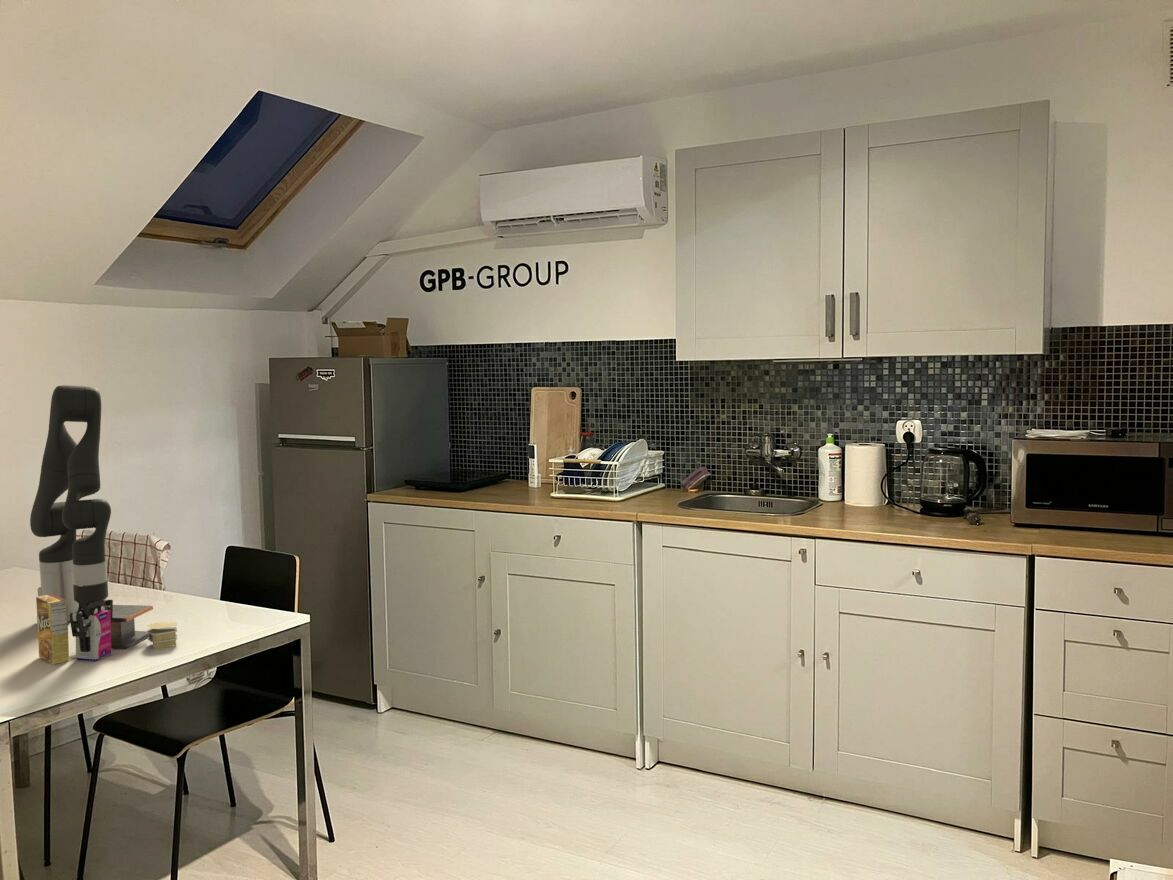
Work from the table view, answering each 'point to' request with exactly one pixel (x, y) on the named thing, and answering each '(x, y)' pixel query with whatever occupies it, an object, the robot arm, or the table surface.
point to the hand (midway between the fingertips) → (93, 647)
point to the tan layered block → (162, 634)
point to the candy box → (52, 629)
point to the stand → (127, 626)
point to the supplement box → (97, 637)
